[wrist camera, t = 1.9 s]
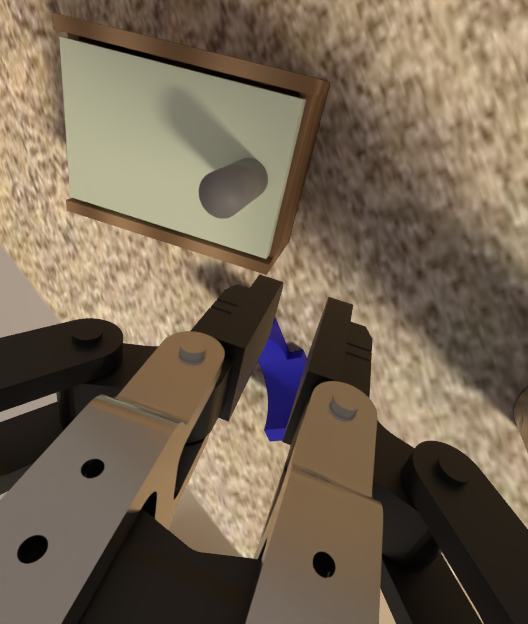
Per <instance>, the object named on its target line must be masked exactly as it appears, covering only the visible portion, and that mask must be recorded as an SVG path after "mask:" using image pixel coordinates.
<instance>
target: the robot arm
mask: <svg viewBox="0 0 528 624" xmlns="http://www.w3.org/2000/svg"><path fill="white" fill-rule="evenodd" d="M282 289H283V282H281V281H278V280H275V279H272V278H269V277H266V276H263V275H259V276H258V277H257V279H256V280H255V282H254V283H253V284H252V286H251V287H250V288H247V287H244V286H241V285H236V286H233V287H231V288H228V289H226V290H224V292H223V293H222V294H221V295H220V296H219V298H218V299H217V301H215V302H214V304H213V305H212V306H211V308H209V309H208V311H207V312H206V313H205V314H204V315H203V317H202V318H201V319H200V320H199V321H198V323H197V324H196V325H195V326H194V327H193V329H192V330H191V331H186V332H179V333H175V334H173V335H171V336H169V337H167V338H166V339H165V340H164V341H163V342H162V343H161V344H160V346H142V345H134V344H125V343H123V334H122V331H121V330H120V328H119V327H118V326H116V325H115V324H113V323H111V322H109V321H105V320H101V319H94V318H86V319H78V320H73V321H69V322H65V323H61V324H57V325H52V326H49V327H44V328H40V329H36V330H32V331H28V332H23V333H19V334H15V335H11V336H6V337H2V338H0V412H1V411H4V410H7V409H10V408H13V407H16V406H19V405H22V404H25V403H27V402H30V401H33V400H36V399H39V398H41V397H45V396H48V395H50V394H53V393H57V401H58V402H55V403H52V404H49V405H47V406H44V407H41V408H38V409H36V410H33V411H30V412H27V413H24V414H22V415H19V416H16V417H14V418H11V419H8V420H5V421H2V422H0V495H1V494H3V493H5V492H7V491H8V492H7V493H6V494H5V495H4V497H3V498H2V499H1V500H0V624H379V604H380V588H381V590H382V593H383V595H384V597H385V599H386V602H387V604H388V606H389V608H390V611H391V613H392V615H393V617H394V620H395V622H396V624H482V622H481V620H480V619H479V617H478V615H477V614H476V612H475V610H474V609H473V607H472V605H471V604H470V602H469V600H468V599H467V597H466V595H465V593H464V592H463V590H462V588H461V587H460V585H459V583H458V581H457V580H456V578H455V576H454V575H453V573H452V571H451V570H450V568H449V566H448V565H447V563H446V561H445V559H444V558H443V556H442V554H441V553H442V552H443V554H444V556H445V558H446V559H447V561H448V563H449V564H450V566H451V568H452V569H453V571H454V573H455V574H456V576H457V578H458V579H459V581H460V583H461V584H462V586H463V588H464V589H465V591H466V593H467V594H468V596H469V598H470V600H471V601H472V603H473V604H474V606H475V608H476V610H477V611H478V613H479V615H480V617H481V619H482V621H483V623H484V624H528V529H527V528H526V526H525V525H524V524H523V523H522V521H521V520H520V519H519V518H518V516H517V515H516V514H515V513H514V511H513V510H512V509H511V508H510V506H509V505H508V504H507V503H506V501H505V500H504V499H503V498H502V496H501V495H500V494H499V493H498V491H497V490H496V489H495V488H494V486H493V485H492V484H491V482H490V481H489V480H488V479H487V477H486V476H485V475H484V474H483V472H482V471H481V470H480V469H479V467H478V466H477V465H476V464H475V463H474V462H473V461H472V460H471V459H470V458H469V457H468V456H466V455H465V454H464V453H462V452H461V451H459V450H458V449H456V448H454V447H452V446H450V445H448V444H445V443H442V442H438V441H425V442H422V443H420V444H418V445H417V446H416V448H413V447H412V446H410V445H408V444H407V443H405V442H404V441H402V440H401V439H399V438H397V437H396V436H394V435H393V434H391V433H390V432H389V431H388V430H386V429H385V428H384V427H383V426H382V425H381V424H380V423H379V421H378V420H377V411H376V408H375V406H374V404H373V403H372V401H371V400H370V399H369V395H370V376H371V357H372V353H371V351H372V337H371V336H370V334H369V332H368V330H367V328H366V327H365V326H362V325H359V324H356V323H353V322H351V315H352V309H353V305H352V304H349V303H346V302H343V301H340V300H337V299H334V298H331V297H328V300H327V302H326V305H325V308H324V311H323V314H322V317H321V319H320V322H319V325H318V328H317V331H316V334H315V336H314V339H313V342H312V345H311V348H310V351H309V354H308V357H307V361H306V364H305V367H304V371H303V374H302V377H301V381H300V384H299V387H298V391H297V394H296V397H295V401H294V404H293V407H292V411H291V414H290V417H289V421H288V424H287V427H286V431H285V434H284V437H283V441H282V442H284V443H287V444H289V445H291V446H290V449H289V453H288V457H287V460H286V462H285V465H284V467H283V470H282V473H281V476H280V479H279V482H278V485H277V488H276V491H275V494H274V498H273V501H272V504H271V507H270V510H269V513H268V516H267V519H266V522H265V525H264V529H263V532H262V535H261V538H260V541H259V544H258V547H257V550H256V553H255V556H254V558H253V559H252V558H243V557H235V556H227V555H218V554H210V553H202V552H197V551H195V550H192V549H191V548H189V547H188V546H187V545H186V544H184V543H183V542H182V541H181V540H179V539H178V538H177V537H176V536H175V535H174V534H172V533H171V532H170V531H169V527H170V523H171V520H172V518H173V515H174V512H175V510H176V507H177V505H178V503H179V501H180V499H181V496H182V494H183V492H184V490H185V488H186V486H187V484H188V482H189V480H190V477H191V475H192V473H193V471H194V469H195V467H196V465H197V462H198V460H199V458H200V456H201V454H202V452H203V450H204V448H205V445H206V443H207V441H208V437H209V433H210V432H211V430H212V428H213V427H214V425H215V423H216V421H217V419H218V418H221V419H223V420H226V421H229V419H230V417H231V415H232V413H233V411H234V409H235V407H236V405H237V403H238V401H239V399H240V396H241V394H242V392H243V390H244V388H245V386H246V384H247V382H248V380H249V378H250V376H251V374H252V372H253V370H254V368H255V366H256V364H257V362H258V359H259V357H260V355H261V353H262V351H263V349H264V347H265V345H266V343H267V340H268V338H269V335H270V332H271V329H272V325H273V322H274V318H275V314H276V311H277V307H278V303H279V300H280V296H281V292H282ZM514 419H515V422H516V424H517V427H518V429H519V432H520V434H521V437H522V440H523V442H524V445H525V447H526V450H527V452H528V388H527V389H526V390H525V391H524V392H523V393H522V394H521V395H520V397H519V398H518V400H517V402H516V405H515V408H514Z"/></svg>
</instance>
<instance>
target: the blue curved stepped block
mask: <svg viewBox="0 0 528 624" xmlns="http://www.w3.org/2000/svg"><path fill="white" fill-rule="evenodd" d="M306 361H307V357H306V355H305V352H304V350H301V351H295V352H289V349H288V347H287V344H286V342H285V339H284V337H283V335H282V332H281V330H280V327H279V325H278V322H277V320H276V318H274V322H273V325H272V329H271V332H270V335H269V338H268V340H267V343H266V345H265V347H264V349H263V351H262V353H261V355H260V357H259V359H258V362H259V364H260V366H261V368H262V371H263V374H264V378H265V382H266V387H267V394H268V414H267V421H266V425H265V429H264V431H265V433H266V435H267V437H268V439H269V441H282V440H283V437H284V434H285V431H286V427H287V424H288V421H289V417H290V414H291V411H292V407H293V404H294V401H295V397H296V394H297V391H298V387H299V384H300V381H301V377H302V374H303V371H304V367H305V364H306Z"/></svg>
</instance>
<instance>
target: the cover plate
mask: <svg viewBox="0 0 528 624" xmlns="http://www.w3.org/2000/svg"><path fill="white" fill-rule="evenodd" d="M59 40H60V55H61V69H62V84H63V98H64V113H65V127H66V142H67V156H68V170H69V185H70V197H72V198H75V199H78V200H82V201H85V202H88V203H91V204H94V205H97V206H101V207H104V208H107V209H110V210H113V211H116V212H119V213H123V214H126V215H129V216H132V217H135V218H138V219H142V220H145V221H148V222H151V223H154V224H157V225H160V226H164V227H167V228H170V229H173V230H176V231H179V232H183V233H186V234H189V235H192V236H195V237H198V238H201V239H205V240H208V241H211V242H214V243H217V244H220V245H224V246H227V247H230V248H233V249H236V250H239V251H242V252H246V253H249V254H252V255H255V256H258V257H261V258H265V259H267V257H268V256H269V254H270V250H271V246H272V242H273V238H274V233H275V229H276V225H277V221H278V216H279V212H280V208H281V204H282V200H283V195H284V191H285V187H286V183H287V178H288V174H289V170H290V166H291V162H292V157H293V153H294V149H295V145H296V140H297V136H298V132H299V128H300V123H301V119H302V115H303V111H304V107H305V102H306V99H303V98H299V97H295V96H291V95H287V94H283V93H279V92H275V91H271V90H268V89H264V88H260V87H256V86H252V85H248V84H244V83H240V82H237V81H233V80H229V79H225V78H221V77H217V76H213V75H209V74H205V73H202V72H198V71H194V70H190V69H186V68H182V67H178V66H174V65H170V64H167V63H163V62H159V61H155V60H151V59H147V58H143V57H139V56H136V55H132V54H128V53H124V52H120V51H116V50H112V49H108V48H104V47H101V46H97V45H93V44H89V43H85V42H81V41H77V40H73V39H69V38H64V37H59Z"/></svg>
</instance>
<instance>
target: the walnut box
mask: <svg viewBox="0 0 528 624" xmlns="http://www.w3.org/2000/svg"><path fill="white" fill-rule="evenodd" d="M52 20H53V29H55V30H59V31H63V32H67V33H68V38H69V39H73V40H77V41H81V42H85V43H89V44H93V45H97V46H101V47H104V48H108V49H112V50H116V51H120V52H124V53H128V54H132V55H136V56H139V57H143V58H147V59H151V60H155V61H159V62H163V63H167V64H170V65H174V66H178V67H182V68H186V69H190V70H194V71H198V72H202V73H205V74H209V75H213V76H217V77H221V78H225V79H229V80H233V81H237V82H240V83H244V84H248V85H252V86H256V87H260V88H264V89H268V90H271V91H275V92H279V93H283V94H287V95H291V96H295V97H299V98H303V99H306V102H305V107H304V111H303V115H302V119H301V123H300V128H299V132H298V136H297V140H296V145H295V149H294V153H293V157H292V162H291V166H290V170H289V174H288V178H287V183H286V187H285V191H284V195H283V200H282V204H281V208H280V212H279V216H278V221H277V225H276V229H275V233H274V238H273V242H272V246H271V250H270V254H269V256H268V257H267V259H265V258H261V257H258V256H255V255H252V254H249V253H246V252H242V251H239V250H236V249H233V248H230V247H227V246H224V245H220V244H217V243H214V242H211V241H208V240H205V239H201V238H198V237H195V236H192V235H189V234H186V233H183V232H179V231H176V230H173V229H170V228H167V227H164V226H160V225H157V224H154V223H151V222H148V221H145V220H142V219H138V218H135V217H132V216H129V215H126V214H123V213H119V212H116V211H113V210H110V209H107V208H104V207H101V206H97V205H94V204H91V203H88V202H85V201H82V200H78V199H75V198H71V199H68V200H66V205H67V211H70V212H73V213H76V214H79V215H83V216H86V217H89V218H92V219H95V220H98V221H101V222H104V223H107V224H110V225H114V226H117V227H120V228H123V229H126V230H129V231H132V232H135V233H138V234H141V235H145V236H148V237H151V238H154V239H157V240H160V241H163V242H166V243H169V244H172V245H176V246H179V247H182V248H185V249H188V250H191V251H194V252H197V253H200V254H203V255H207V256H210V257H213V258H216V259H219V260H222V261H225V262H228V263H231V264H234V265H238V266H241V267H244V268H247V269H250V270H253V271H256V272H259V273H262V274H265V275H267V273H268V272H269V270H270V269H271V267H272V266H273V264H274V263H275V262H276V260H277V259H278V257H279V256H280V254H281V253H282V251H283V250H284V248H285V247H286V245H287V244H288V242H289V239H290V235H291V231H292V227H293V223H294V219H295V216H296V212H297V208H298V204H299V200H300V197H301V193H302V189H303V185H304V181H305V177H306V174H307V170H308V166H309V162H310V158H311V154H312V151H313V147H314V143H315V139H316V135H317V132H318V128H319V124H320V120H321V116H322V112H323V109H324V105H325V101H326V97H327V93H328V89H329V86H330V82H326V81H323V80H320V79H317V78H313V77H309V76H305V75H301V74H297V73H293V72H289V71H285V70H281V69H277V68H273V67H269V66H265V65H261V64H257V63H253V62H249V61H245V60H241V59H237V58H233V57H229V56H225V55H221V54H217V53H213V52H209V51H205V50H201V49H197V48H193V47H189V46H185V45H181V44H177V43H173V42H169V41H165V40H161V39H157V38H153V37H149V36H145V35H141V34H137V33H133V32H129V31H125V30H121V29H117V28H113V27H109V26H105V25H101V24H97V23H93V22H89V21H85V20H81V19H77V18H73V17H69V16H65V15H61V14H57V13H53V12H52Z"/></svg>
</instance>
